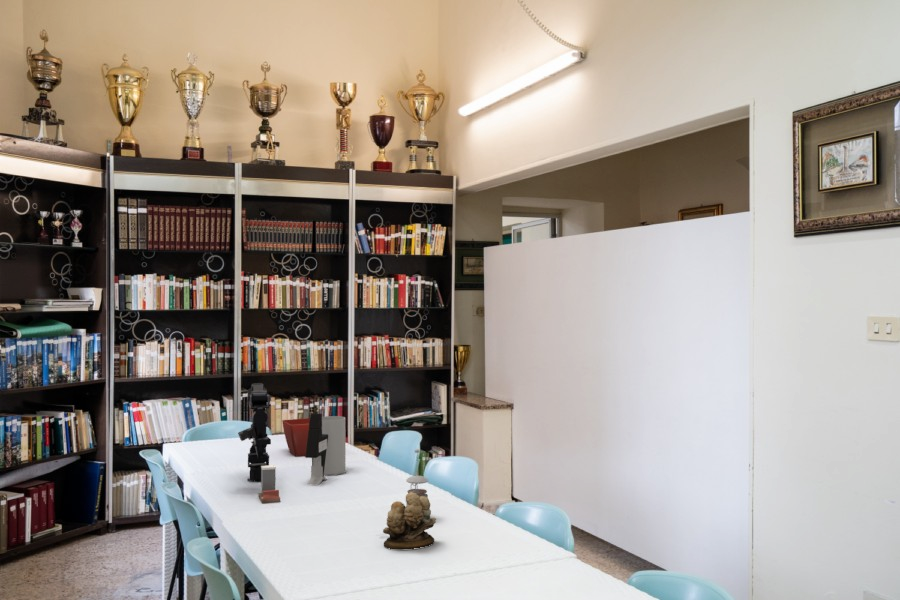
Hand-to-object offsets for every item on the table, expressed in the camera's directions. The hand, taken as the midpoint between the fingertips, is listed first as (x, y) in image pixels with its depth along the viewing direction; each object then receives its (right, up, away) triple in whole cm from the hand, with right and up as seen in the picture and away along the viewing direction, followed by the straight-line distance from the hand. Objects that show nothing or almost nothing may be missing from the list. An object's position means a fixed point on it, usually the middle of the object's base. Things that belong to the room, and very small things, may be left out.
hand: (259, 459), depth 333 cm
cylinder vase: (+25, -13, +33) cm, 43 cm away
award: (+22, -13, +14) cm, 29 cm away
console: (+8, -13, -16) cm, 22 cm away
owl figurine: (+67, -13, -73) cm, 100 cm away
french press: (+67, -13, -41) cm, 80 cm away
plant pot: (+5, -13, +78) cm, 79 cm away
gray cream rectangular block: (+7, -11, -13) cm, 19 cm away
